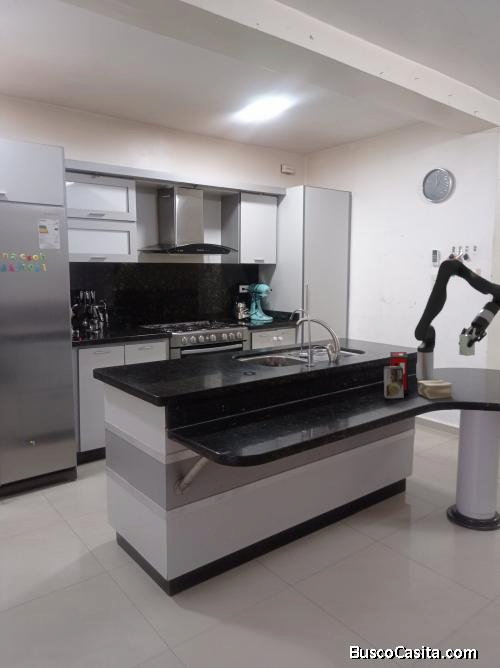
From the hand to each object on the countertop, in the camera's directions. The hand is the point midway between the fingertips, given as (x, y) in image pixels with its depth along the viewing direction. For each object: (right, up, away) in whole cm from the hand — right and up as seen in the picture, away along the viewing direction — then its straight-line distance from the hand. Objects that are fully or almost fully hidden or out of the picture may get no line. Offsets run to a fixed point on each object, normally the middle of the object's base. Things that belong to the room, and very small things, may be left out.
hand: (464, 345), depth 242 cm
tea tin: (+2, -5, +1) cm, 5 cm away
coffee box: (-31, -28, +15) cm, 44 cm away
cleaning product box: (-24, -26, +29) cm, 45 cm away
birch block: (-9, -27, +14) cm, 32 cm away
